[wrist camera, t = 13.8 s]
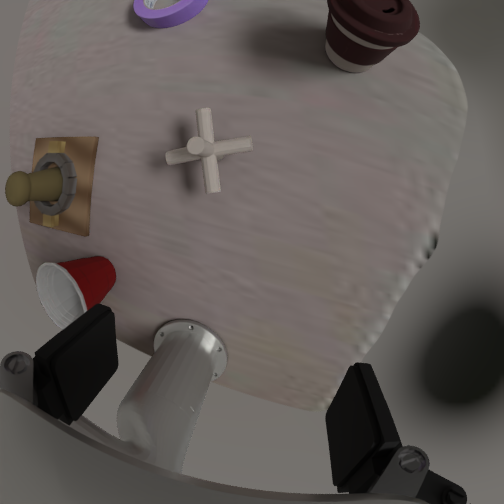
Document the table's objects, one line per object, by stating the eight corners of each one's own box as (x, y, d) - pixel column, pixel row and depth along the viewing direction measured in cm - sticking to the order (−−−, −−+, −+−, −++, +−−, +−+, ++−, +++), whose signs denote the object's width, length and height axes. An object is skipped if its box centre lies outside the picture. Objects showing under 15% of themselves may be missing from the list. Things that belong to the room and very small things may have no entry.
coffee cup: (313, 22, 28) (326, -41, 14) (378, 32, 27) (414, -19, 13) (316, 77, 31) (336, 22, 16) (385, 87, 30) (434, 47, 15)
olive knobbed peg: (69, 167, 36) (21, 169, 25) (66, 203, 38) (19, 213, 27) (48, 165, 36) (2, 168, 26) (45, 199, 38) (0, 208, 27)
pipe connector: (187, 196, 37) (156, 202, 27) (178, 126, 34) (146, 111, 25) (260, 185, 35) (252, 188, 26) (250, 112, 33) (240, 89, 23)
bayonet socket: (89, 235, 40) (78, 239, 37) (33, 221, 40) (22, 224, 38) (98, 137, 35) (87, 135, 33) (39, 138, 36) (28, 138, 33)
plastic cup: (70, 264, 42) (25, 286, 30) (102, 228, 39) (51, 246, 28) (104, 313, 43) (65, 346, 32) (140, 283, 41) (99, 317, 29)
